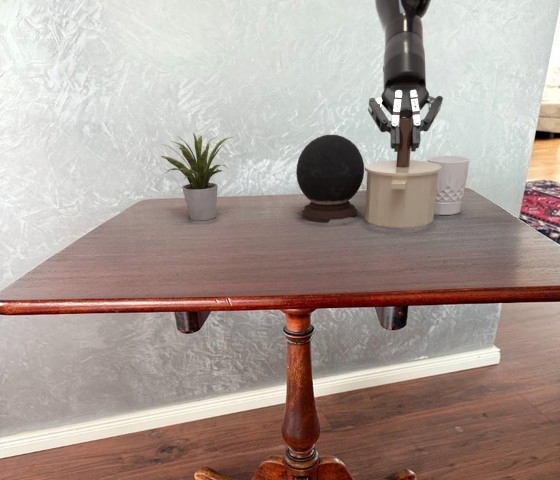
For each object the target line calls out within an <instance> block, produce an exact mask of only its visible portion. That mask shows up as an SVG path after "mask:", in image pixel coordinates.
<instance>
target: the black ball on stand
mask: <svg viewBox="0 0 560 480" xmlns="http://www.w3.org/2000/svg"><path fill="white" fill-rule="evenodd" d="M364 176H365V163H364V159H363V156H362V154H361V151H360V150H359V148H358V147H357V146H356V144H355V143H353V142H352V141H351V140H350V139H348V138H346V137H344V136H342V135H340V134H325V135H321V136H318V137H316V138H314V139H313V140H311V141H310V142H309V143H308V144H307V145H305V147H304V148H303V149H302V151H301V152H300V155H299V157H298V160H297V163H296V181H297V184H298V187H299V189H300V191H301V192H302V194H303V195H304V196H305V197H306V198H307V199H308V200H309V201H310V202H309V203H308V204H306V205H305V206H304V208H303V210H301V217H302V218H303V219H304V220H307V221H311V222H314V223H315V222H316V223H329V222H330V221H331V220H342V219H343V220H344V219H349V218H357V217H358V212H359V211H358V209H357V208H356V205H354V204H353V203H351V202H350V200H351V199H353V197H354V196H355V195H356V194H357V193H358V191H359V189H360V188H361V186H362V185H363V180H364Z"/></svg>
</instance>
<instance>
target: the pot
mask: <svg viewBox="0 0 560 480" xmlns="http://www.w3.org/2000/svg"><path fill="white" fill-rule="evenodd" d="M437 178H438V172H437V173H434V174H429V175H421V176H385V175H377V174H372V173H369V172H367V171H366V189H365V191H366V192H365V209H364V210H365V211H364V220H365V221H366V222H367V223H369V224H372V225H375V226H379V227H385V228H397V229H399V228H400V229H406V228H407V229H408V228H418V227H422V226H427V225H429V224H432V223H433V222H434V215H435V214H434V206H435V196H436V187H437Z"/></svg>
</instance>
